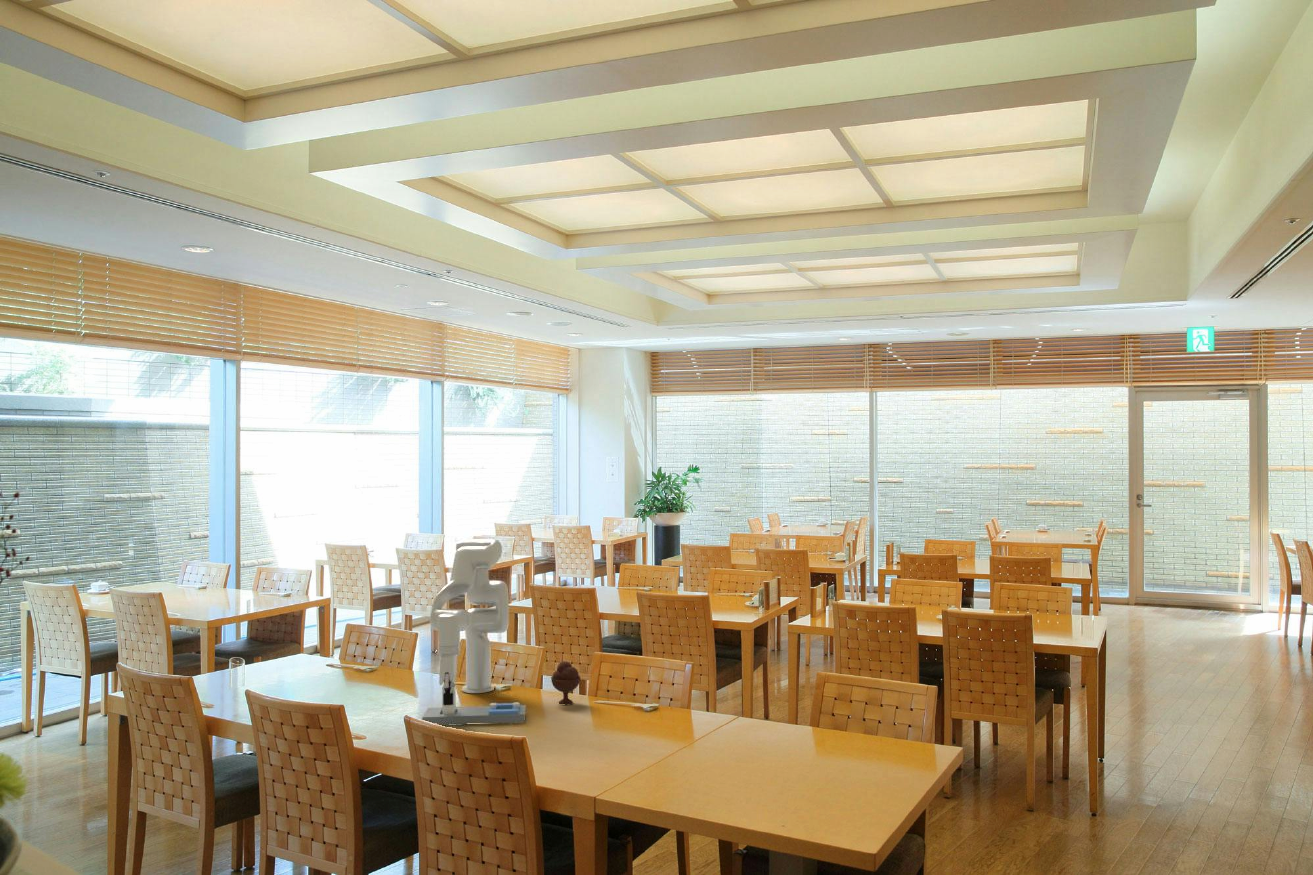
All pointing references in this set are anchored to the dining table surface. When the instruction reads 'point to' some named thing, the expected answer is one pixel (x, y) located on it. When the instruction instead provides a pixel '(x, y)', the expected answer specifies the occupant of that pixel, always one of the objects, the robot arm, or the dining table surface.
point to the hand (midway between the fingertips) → (449, 702)
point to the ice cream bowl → (565, 680)
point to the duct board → (478, 714)
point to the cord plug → (449, 708)
